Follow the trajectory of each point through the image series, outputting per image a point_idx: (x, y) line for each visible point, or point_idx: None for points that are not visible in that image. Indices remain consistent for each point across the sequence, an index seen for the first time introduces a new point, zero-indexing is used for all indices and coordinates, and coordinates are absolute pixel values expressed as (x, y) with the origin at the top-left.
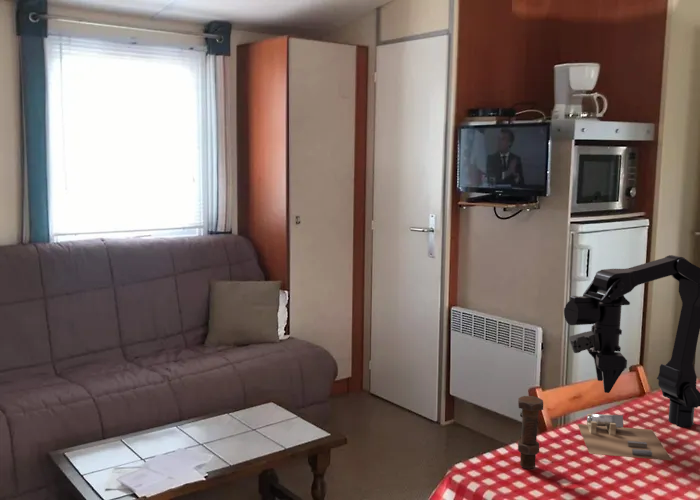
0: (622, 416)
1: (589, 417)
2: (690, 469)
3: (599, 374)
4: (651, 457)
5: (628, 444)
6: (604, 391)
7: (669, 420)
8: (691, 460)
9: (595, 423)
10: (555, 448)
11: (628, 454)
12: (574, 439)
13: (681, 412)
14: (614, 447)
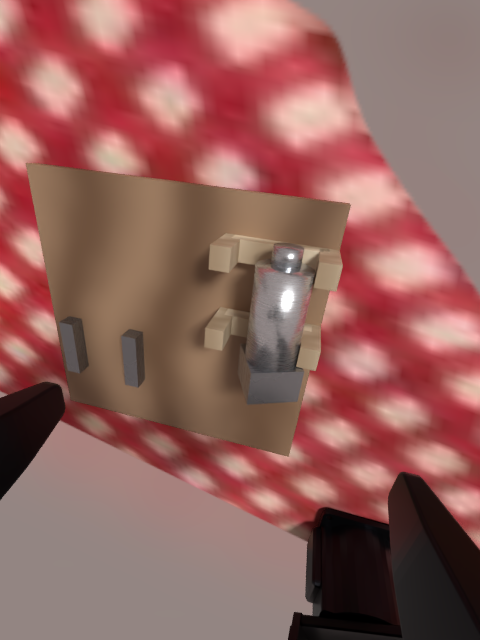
0: (246, 399)
1: (279, 257)
2: None
3: (416, 550)
4: None
5: (125, 332)
6: (40, 384)
7: (359, 532)
8: (113, 442)
9: (209, 263)
10: (70, 9)
11: (67, 304)
12: (194, 145)
13: (311, 581)
14: (110, 280)
